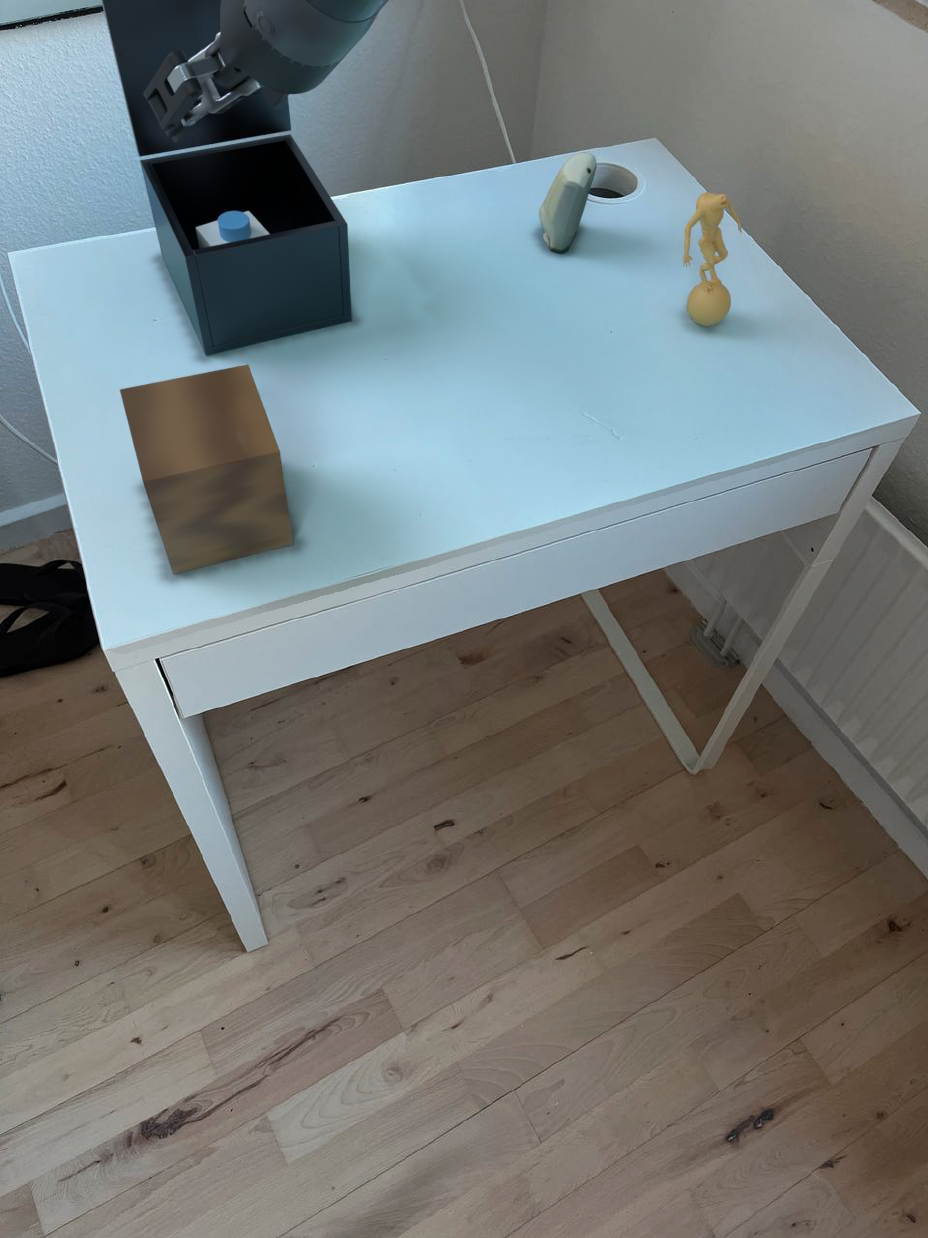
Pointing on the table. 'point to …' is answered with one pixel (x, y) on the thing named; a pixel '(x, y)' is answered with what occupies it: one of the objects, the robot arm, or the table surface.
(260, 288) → the black open box
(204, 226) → the white box
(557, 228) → the grey-green elongated block
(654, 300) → the table surface
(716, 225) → the figurine
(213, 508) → the brown box
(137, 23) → the lid
